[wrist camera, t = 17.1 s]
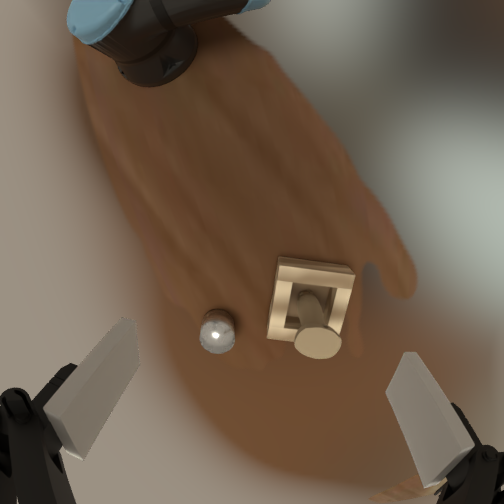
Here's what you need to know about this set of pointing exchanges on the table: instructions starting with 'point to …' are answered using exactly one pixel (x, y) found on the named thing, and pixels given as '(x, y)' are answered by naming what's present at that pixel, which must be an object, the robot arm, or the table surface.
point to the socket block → (303, 279)
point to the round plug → (217, 331)
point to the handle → (314, 329)
